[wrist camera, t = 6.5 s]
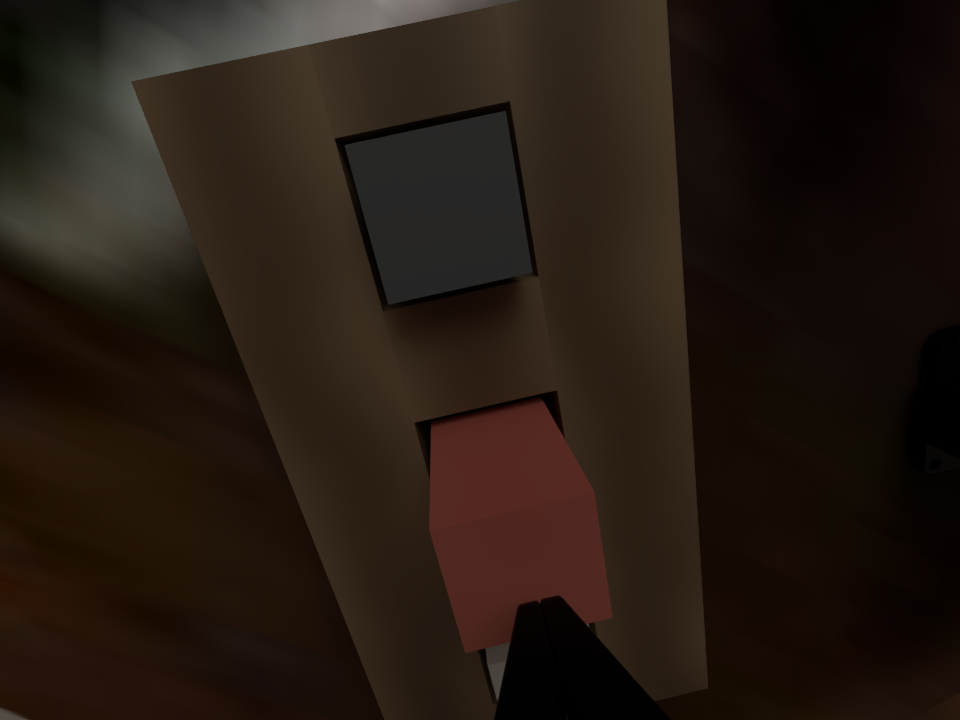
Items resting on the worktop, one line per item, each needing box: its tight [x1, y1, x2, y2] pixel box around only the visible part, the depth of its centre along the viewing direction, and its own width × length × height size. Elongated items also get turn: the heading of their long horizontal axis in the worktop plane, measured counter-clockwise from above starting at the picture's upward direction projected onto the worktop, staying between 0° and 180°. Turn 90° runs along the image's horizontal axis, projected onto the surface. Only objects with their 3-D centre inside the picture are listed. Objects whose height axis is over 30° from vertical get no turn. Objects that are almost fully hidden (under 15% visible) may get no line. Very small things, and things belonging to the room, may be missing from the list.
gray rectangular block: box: [345, 111, 533, 305], centre depth 12 cm, size 3×3×5 cm
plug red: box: [429, 396, 613, 653], centre depth 12 cm, size 3×3×5 cm
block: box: [132, 0, 708, 720], centre depth 16 cm, size 12×23×4 cm, turn 12°
